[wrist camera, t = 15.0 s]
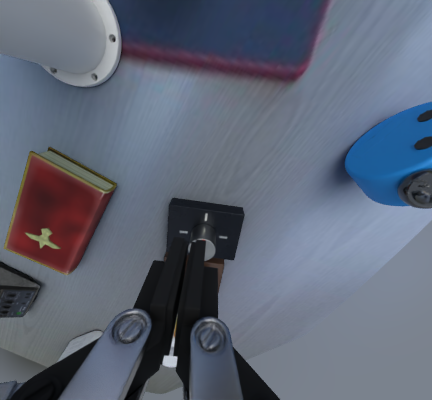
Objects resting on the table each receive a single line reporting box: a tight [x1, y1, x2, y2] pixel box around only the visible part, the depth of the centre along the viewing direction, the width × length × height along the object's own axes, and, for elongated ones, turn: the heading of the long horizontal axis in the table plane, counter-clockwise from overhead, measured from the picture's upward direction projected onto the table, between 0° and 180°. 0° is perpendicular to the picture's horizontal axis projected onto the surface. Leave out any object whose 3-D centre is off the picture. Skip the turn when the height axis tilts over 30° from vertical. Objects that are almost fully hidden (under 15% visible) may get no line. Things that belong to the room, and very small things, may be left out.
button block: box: [164, 252, 224, 292], centre depth 42 cm, size 12×10×4 cm
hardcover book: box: [4, 147, 117, 275], centre depth 36 cm, size 12×21×4 cm, turn 147°
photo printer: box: [58, 331, 103, 362], centre depth 47 cm, size 10×4×12 cm, turn 119°
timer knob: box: [188, 224, 216, 261], centre depth 34 cm, size 4×4×5 cm
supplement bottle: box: [162, 314, 178, 367], centre depth 45 cm, size 5×5×10 cm
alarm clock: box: [345, 102, 432, 209], centre depth 26 cm, size 13×6×15 cm, turn 137°
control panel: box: [166, 198, 244, 260], centre depth 37 cm, size 13×10×3 cm
